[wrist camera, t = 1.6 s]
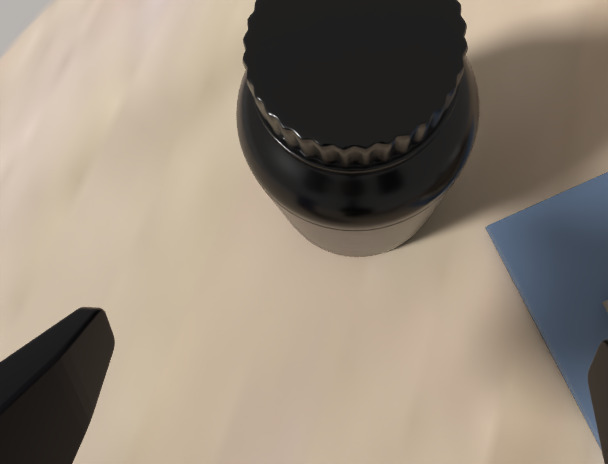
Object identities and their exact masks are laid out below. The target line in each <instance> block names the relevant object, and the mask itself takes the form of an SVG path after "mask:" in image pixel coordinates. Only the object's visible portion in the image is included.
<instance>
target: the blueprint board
mask: <svg viewBox="0 0 608 464" xmlns="http://www.w3.org/2000/svg"><path fill="white" fill-rule="evenodd" d="M485 228H486V230H487V232H488V233H489V235H490V237H491V239H492V241H493V243H494V245H495V247H496V249H497V251H498V253H499V255H500V256H501V258H502V260H503V262H504V264H505V266H506V268H507V270H508V272H509V274H510V276H511V278H512V279H513V281H514V283H515V285H516V287H517V289H518V291H519V293H520V295H521V297H522V299H523V301H524V302H525V304H526V306H527V308H528V310H529V312H530V314H531V316H532V318H533V320H534V322H535V324H536V325H537V327H538V329H539V331H540V333H541V335H542V337H543V339H544V341H545V343H546V345H547V347H548V348H549V350H550V352H551V354H552V356H553V358H554V360H555V362H556V364H557V366H558V368H559V370H560V371H561V373H562V375H563V377H564V379H565V381H566V383H567V385H568V387H569V389H570V391H571V393H572V395H573V396H574V398H575V400H576V402H577V404H578V406H579V408H580V410H581V412H582V414H583V416H584V418H585V419H586V421H587V423H588V425H589V427H590V429H591V431H592V433H593V435H594V437H595V439H596V441H597V442H598V444H599V446H600V448H601V444H600V439H599V435H598V430H597V425H596V420H595V415H594V410H593V406H592V401H591V396H590V391H589V386H588V370H589V368H590V365H591V363H592V361H593V358H594V356H595V354H596V351H597V349H598V347H599V345H600V343H601V342H602V341H603V340H605V339H608V313H607V311H606V309H605V307H604V306H603V304H602V302H604V301H606V300H608V172H607V173H604V174H602V175H600V176H598V177H596V178H593V179H591V180H589V181H587V182H584V183H582V184H580V185H578V186H575V187H573V188H571V189H569V190H566V191H564V192H562V193H560V194H557V195H555V196H553V197H551V198H548V199H546V200H544V201H542V202H540V203H537V204H535V205H533V206H531V207H528V208H526V209H524V210H522V211H519V212H517V213H515V214H513V215H510V216H508V217H506V218H504V219H501V220H499V221H497V222H495V223H492V224H490V225H488V226H487V227H485ZM601 450H602V449H601Z"/></svg>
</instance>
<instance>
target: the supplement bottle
mask: <svg viewBox="0 0 608 464" xmlns="http://www.w3.org/2000/svg"><path fill="white" fill-rule="evenodd" d="M466 29H467V25H466V23H465V21H464V19H463V18H462V17H461V4H460V3H459V2H458V1H457V0H256V2H255V9H254V12H253V13H252V14H251V15H250V17H249V18H248V31H247V33H246V34H245V36H244V39H243V43H244V47H245V53H244V56H243V65H244V67H245V69H246V70H245V73H244V76H243V78H242V81H241V85H240V89H239V94H238V100H237V113H236V114H237V129H238V136H239V141H240V145H241V148H242V151H243V154H244V156H245V159H246V161H247V163H248V165H249V167H250V169H251V171H252V173H253V174H254V176H255V178H256V179H257V181H258V182H259V184H260V185H261V186H262V188H263V189H264V190H265V192H266V193H267V194H268V195H269V197H270V198H271V199H272V200H273V202H274V203H275V204H276V205H277V207H278V208H279V209H280V210H281V211H282V213H283V214H284V215H285V216H286V218H287V219H288V220H289V221H290V223H291V224H292V225H293V226H294V227H295V228H296V229H297V231H298V232H299V233H300V234H301V235H303V236H304V237H305V238H306V239H307V240H308V241H310V242H311V243H313V244H314V245H316V246H318V247H319V248H321V249H324V250H326V251H328V252H331V253H334V254H338V255H342V256H349V257H366V256H373V255H377V254H381V253H384V252H387V251H390V250H392V249H394V248H396V247H398V246H400V245H401V244H403V243H405V242H406V241H407V240H409V239H410V238H411V237H412V236H413V235H414V234H416V233H417V232H418V230H419V229H420V228H421V227H422V226H423V225H424V224H425V222H426V221H427V220H428V218H429V217H430V215H431V214H432V213H433V211H434V210H435V208H436V207H437V206H438V204H439V203H440V201H441V200H442V199H443V197H444V196H445V194H446V193H447V191H448V190H449V189H450V187H451V186H452V184H453V183H454V182H455V180H456V179H457V177H458V176H459V174H460V172H461V171H462V169H463V167H464V165H465V163H466V161H467V159H468V157H469V155H470V152H471V150H472V147H473V144H474V141H475V138H476V133H477V129H478V122H479V96H478V88H477V84H476V79H475V76H474V73H473V70H472V67H471V65H470V63H469V61H468V58H467V56H466V53H467V50H468V46H467V42H466V39H465V38H464V37H465V33H466Z"/></svg>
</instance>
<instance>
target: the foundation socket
mask: <svg viewBox="0 0 608 464" xmlns="http://www.w3.org/2000/svg"><path fill="white" fill-rule="evenodd" d="M602 304H603V306H604V307H605V309H606V311H607V313H608V300H606V301H604V302H602Z"/></svg>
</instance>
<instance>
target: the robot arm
mask: <svg viewBox="0 0 608 464" xmlns="http://www.w3.org/2000/svg"><path fill="white" fill-rule="evenodd" d="M114 345H115V340H114V335H113V332H112V330H111V327H110V324H109V321H108V318H107V316H106V313H105V311H104V310H103V309H101V308H94V307H81V308H79V309H77V310H76V311H74V312H73V313H71V314H70V315H68V316H67V317H65V318H64V319H62V320H61V321H60V322H58V323H57V324H55V325H54V326H52V327H51V328H49V329H48V330H46V331H45V332H43V333H42V334H41V335H39V336H38V337H36V338H35V339H33V340H32V341H30V342H29V343H27V344H26V345H25V346H23V347H22V348H20V349H19V350H17V351H16V352H14V353H13V354H11V355H10V356H8V357H7V358H6V359H4V360H3V361H1V362H0V464H72V463H73V461H74V458H75V456H76V454H77V452H78V449H79V447H80V445H81V442H82V440H83V438H84V436H85V433H86V431H87V429H88V426H89V424H90V421H91V418H92V416H93V413H94V410H95V407H96V404H97V400H98V397H99V394H100V391H101V388H102V385H103V382H104V379H105V375H106V372H107V369H108V366H109V363H110V360H111V357H112V354H113V350H114ZM588 386H589V391H590V396H591V401H592V406H593V410H594V415H595V420H596V425H597V430H598V435H599V439H600V444H601V449H602V454H603V458H604V462H605V464H608V339H605V340H603V341H602V342H601V343H600V345H599V347H598V349H597V351H596V354H595V356H594V358H593V361H592V363H591V365H590V368H589V370H588Z"/></svg>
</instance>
